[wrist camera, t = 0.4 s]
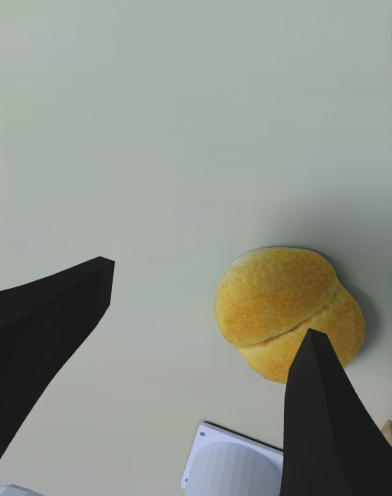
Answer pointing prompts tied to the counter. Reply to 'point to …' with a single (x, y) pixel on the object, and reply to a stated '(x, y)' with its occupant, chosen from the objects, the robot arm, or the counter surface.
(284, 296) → the bread roll
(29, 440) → the counter surface
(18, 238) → the counter surface
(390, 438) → the frame
